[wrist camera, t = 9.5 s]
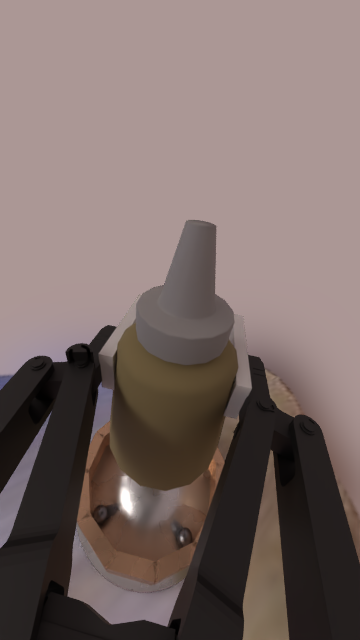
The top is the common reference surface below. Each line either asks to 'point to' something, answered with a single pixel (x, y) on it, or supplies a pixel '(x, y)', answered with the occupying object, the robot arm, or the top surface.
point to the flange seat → (140, 521)
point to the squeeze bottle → (175, 371)
